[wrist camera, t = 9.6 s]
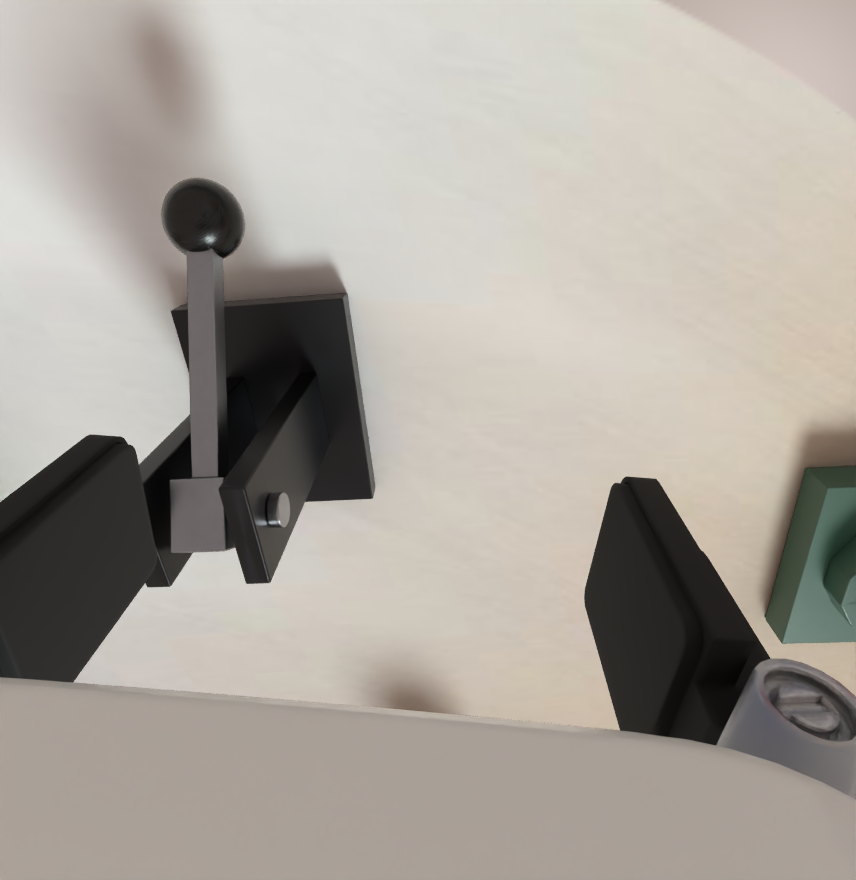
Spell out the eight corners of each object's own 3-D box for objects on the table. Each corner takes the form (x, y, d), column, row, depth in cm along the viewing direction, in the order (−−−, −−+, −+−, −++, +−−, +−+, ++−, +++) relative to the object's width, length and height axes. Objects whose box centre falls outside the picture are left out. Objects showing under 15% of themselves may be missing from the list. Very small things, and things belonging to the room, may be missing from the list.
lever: (186, 204, 25) (143, 165, 21) (255, 198, 24) (223, 157, 21) (193, 544, 24) (150, 555, 21) (266, 541, 23) (234, 552, 20)
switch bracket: (181, 304, 29) (9, 398, 18) (347, 292, 29) (278, 382, 17) (235, 494, 35) (129, 657, 24) (375, 487, 34) (336, 652, 23)
